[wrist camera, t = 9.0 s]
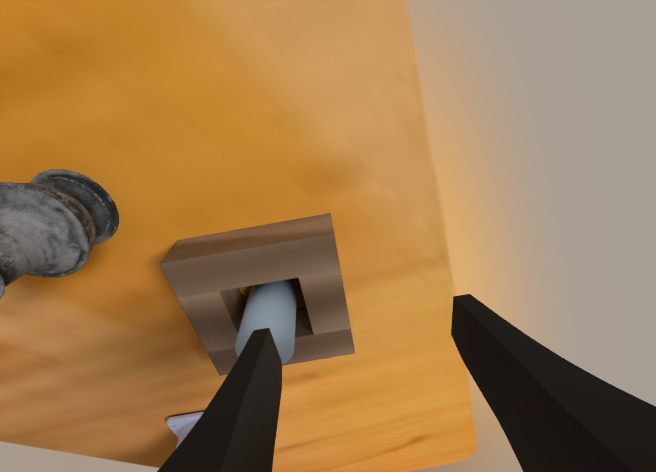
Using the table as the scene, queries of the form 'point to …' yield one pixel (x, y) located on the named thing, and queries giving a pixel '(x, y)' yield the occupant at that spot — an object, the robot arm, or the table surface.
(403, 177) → the table surface
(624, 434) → the robot arm
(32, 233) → the dark grey chess piece
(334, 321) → the socket block
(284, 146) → the table surface
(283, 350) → the peg
